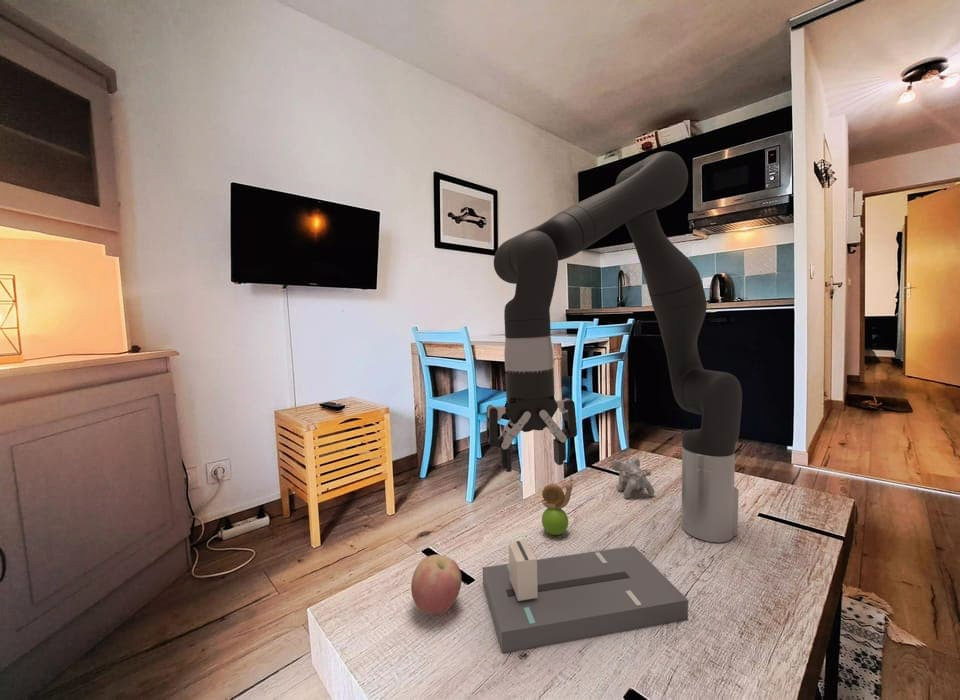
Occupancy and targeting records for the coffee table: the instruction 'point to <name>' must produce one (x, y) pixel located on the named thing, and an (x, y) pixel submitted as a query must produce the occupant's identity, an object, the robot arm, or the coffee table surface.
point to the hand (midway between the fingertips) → (533, 466)
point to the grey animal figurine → (632, 476)
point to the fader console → (582, 599)
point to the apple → (436, 584)
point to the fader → (523, 570)
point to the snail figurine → (555, 508)
